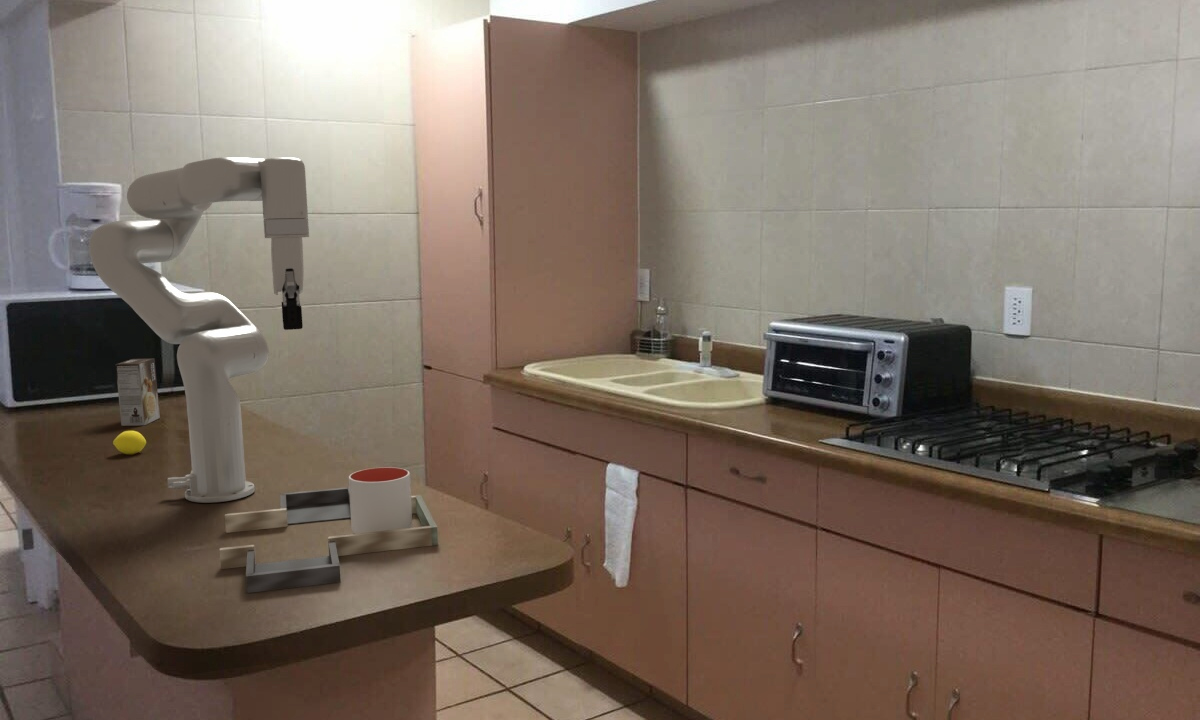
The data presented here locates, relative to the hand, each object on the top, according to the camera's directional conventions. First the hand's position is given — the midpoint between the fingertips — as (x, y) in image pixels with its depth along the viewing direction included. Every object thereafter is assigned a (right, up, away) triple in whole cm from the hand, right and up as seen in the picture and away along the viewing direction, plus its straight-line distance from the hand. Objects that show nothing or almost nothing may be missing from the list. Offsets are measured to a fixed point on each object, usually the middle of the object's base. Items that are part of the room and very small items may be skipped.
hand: (292, 326), depth 188 cm
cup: (+18, -35, -10) cm, 41 cm away
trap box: (+10, -35, -13) cm, 39 cm away
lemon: (-51, -27, +50) cm, 77 cm away
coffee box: (-64, -22, +86) cm, 109 cm away
